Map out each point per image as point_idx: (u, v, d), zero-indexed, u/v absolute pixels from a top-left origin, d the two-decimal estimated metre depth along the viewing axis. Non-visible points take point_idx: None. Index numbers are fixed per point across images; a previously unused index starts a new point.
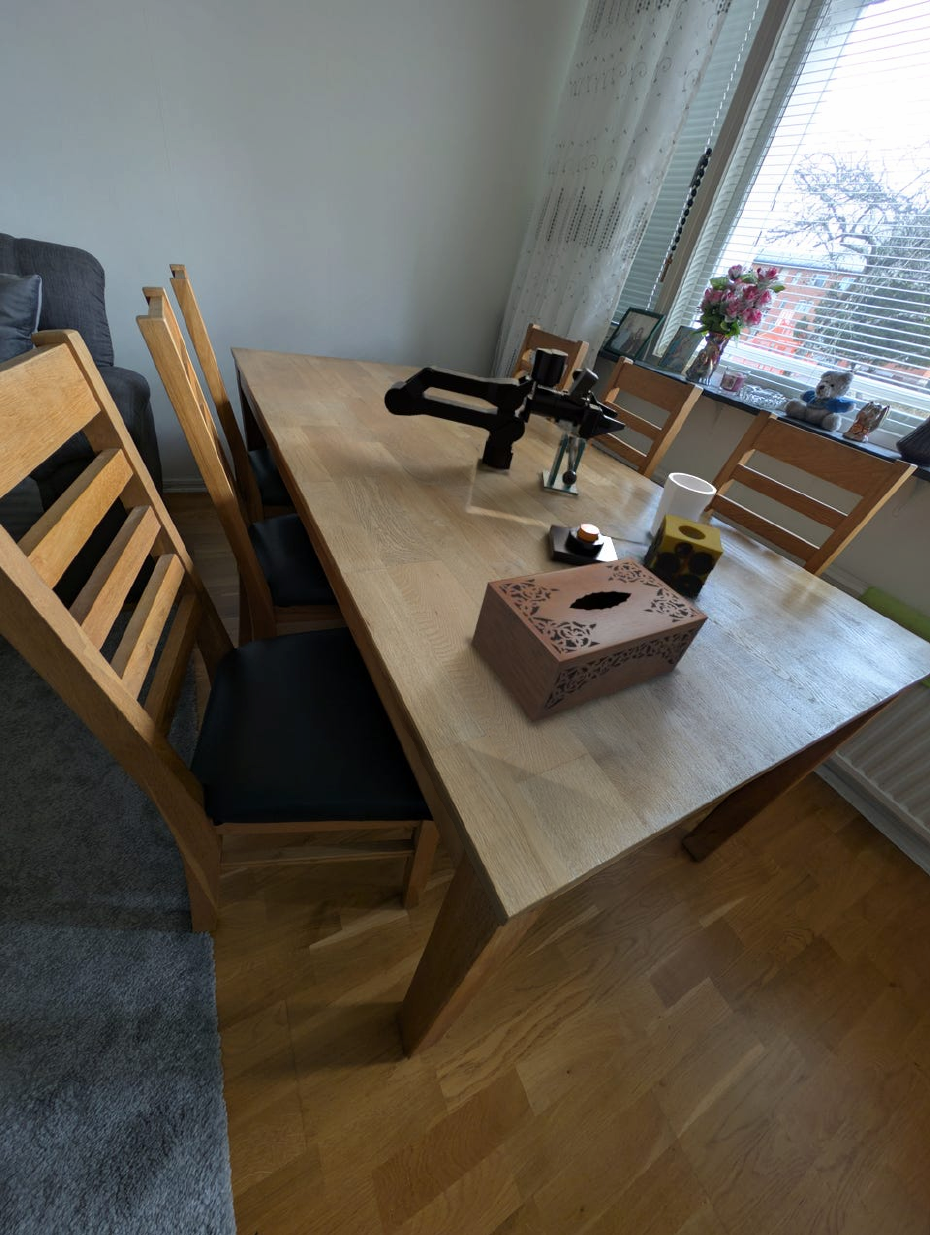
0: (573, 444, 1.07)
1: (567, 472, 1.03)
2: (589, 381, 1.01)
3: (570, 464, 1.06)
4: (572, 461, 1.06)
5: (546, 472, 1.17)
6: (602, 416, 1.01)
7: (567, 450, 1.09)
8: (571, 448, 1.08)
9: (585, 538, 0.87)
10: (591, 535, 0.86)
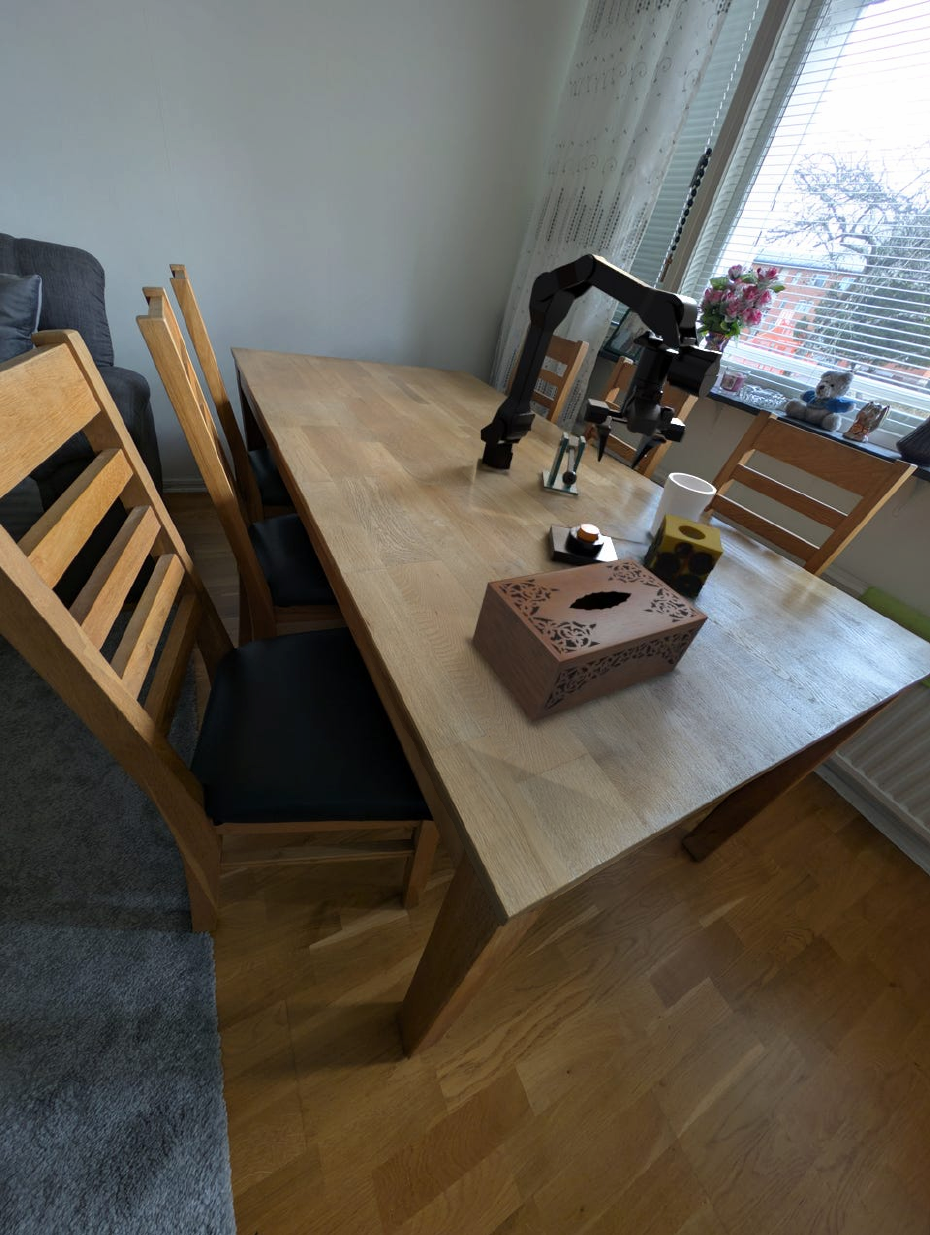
0: (573, 444, 1.07)
1: (567, 472, 1.03)
2: (630, 419, 0.83)
3: (570, 464, 1.06)
4: (572, 461, 1.06)
5: (546, 472, 1.17)
6: (600, 431, 0.89)
7: (567, 450, 1.09)
8: (571, 448, 1.08)
9: (585, 538, 0.87)
10: (591, 535, 0.86)
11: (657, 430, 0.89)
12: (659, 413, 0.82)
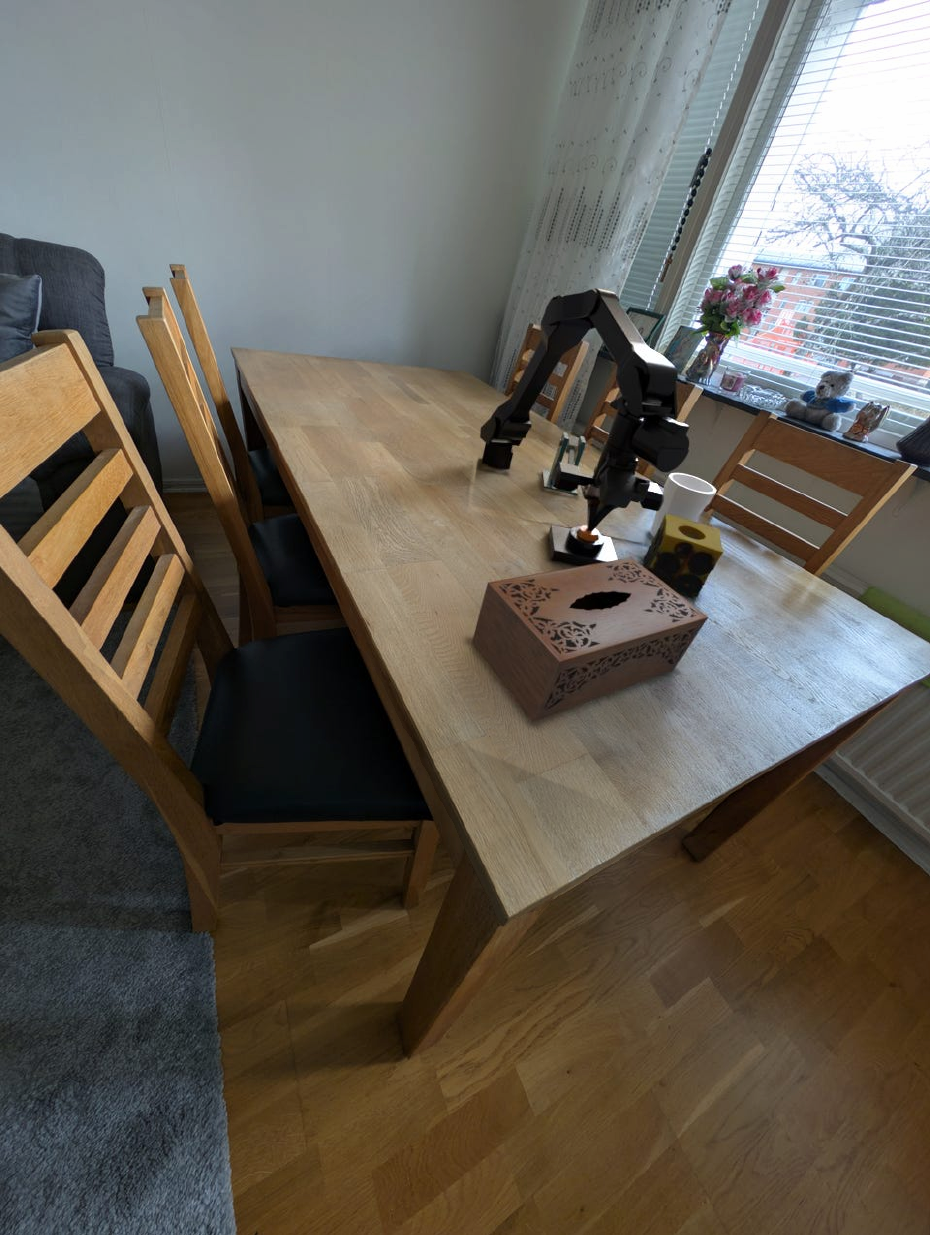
0: (573, 444, 1.07)
1: None
2: (602, 490, 0.76)
3: None
4: (572, 461, 1.06)
5: (546, 472, 1.17)
6: None
7: (567, 450, 1.09)
8: (571, 448, 1.08)
9: (584, 539, 0.87)
10: (590, 537, 0.87)
11: None
12: (633, 484, 0.75)
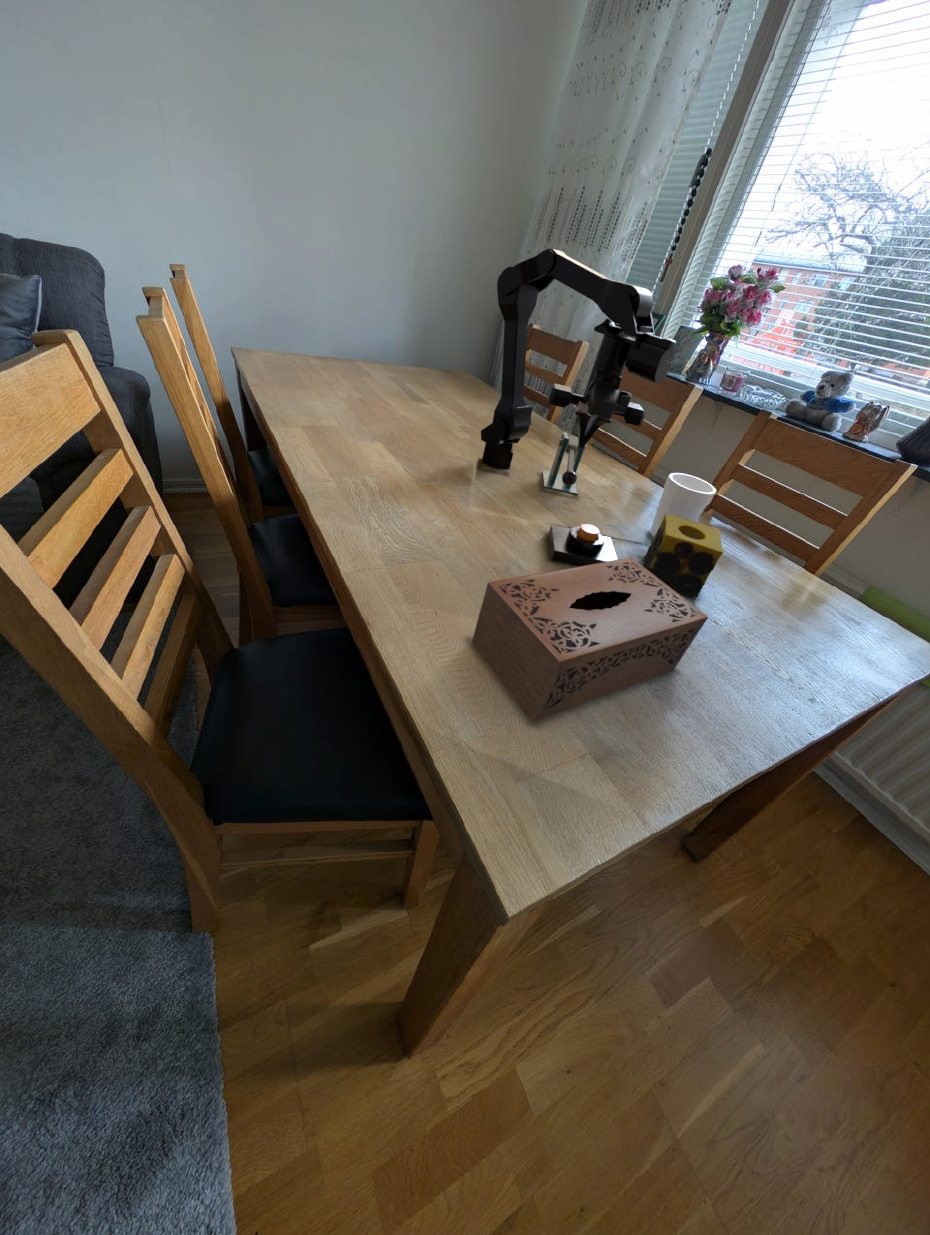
0: (573, 444, 1.07)
1: (567, 472, 1.03)
2: (590, 402, 0.88)
3: (570, 464, 1.06)
4: (572, 461, 1.06)
5: (546, 472, 1.17)
6: (580, 418, 0.95)
7: (567, 450, 1.09)
8: (571, 448, 1.08)
9: (585, 538, 0.87)
10: (591, 535, 0.86)
11: (618, 414, 0.94)
12: (617, 397, 0.87)
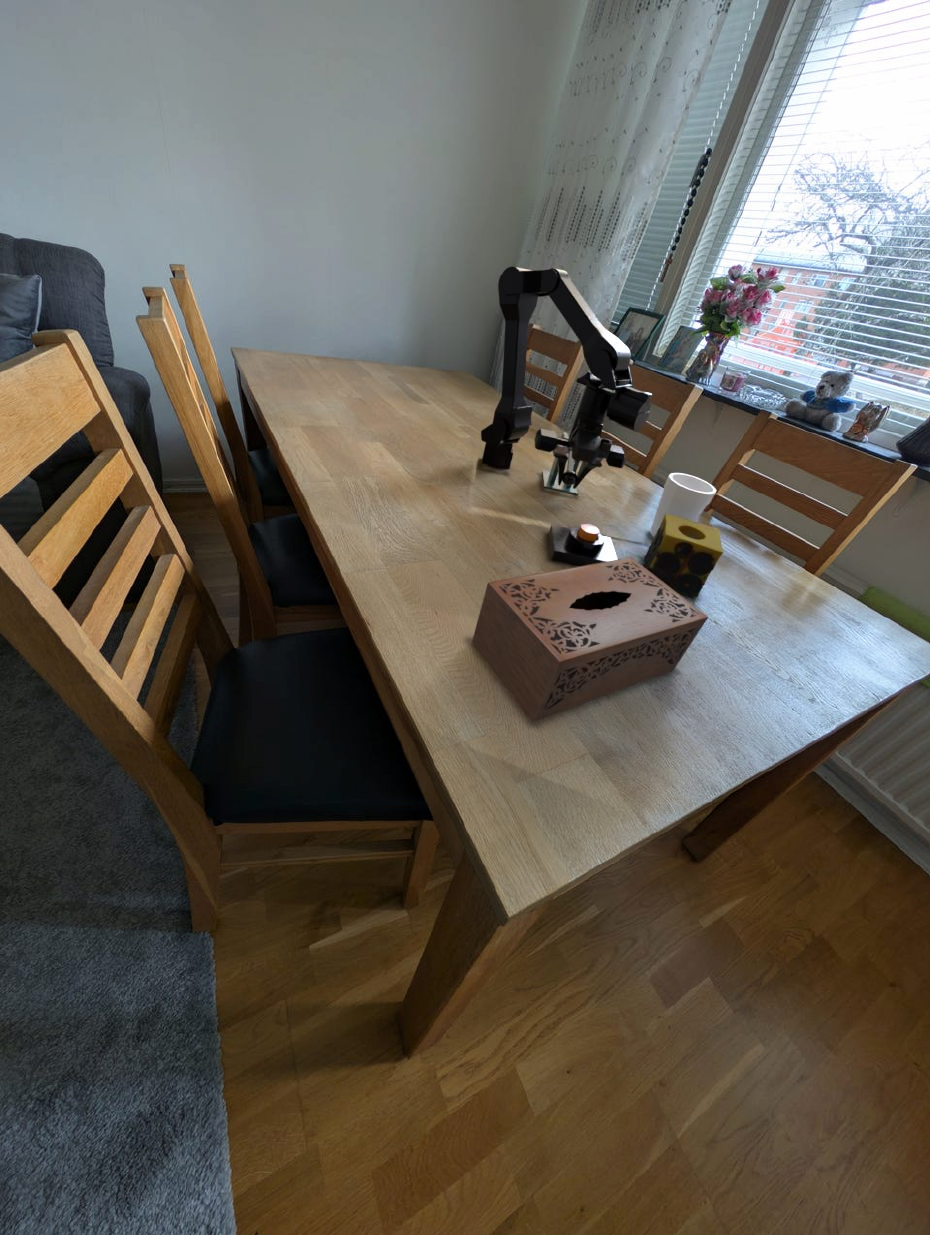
0: None
1: (567, 472, 1.03)
2: (574, 449, 0.94)
3: (570, 464, 1.06)
4: (572, 461, 1.06)
5: (546, 472, 1.17)
6: None
7: None
8: None
9: (585, 538, 0.87)
10: (591, 535, 0.86)
11: None
12: (599, 444, 0.93)
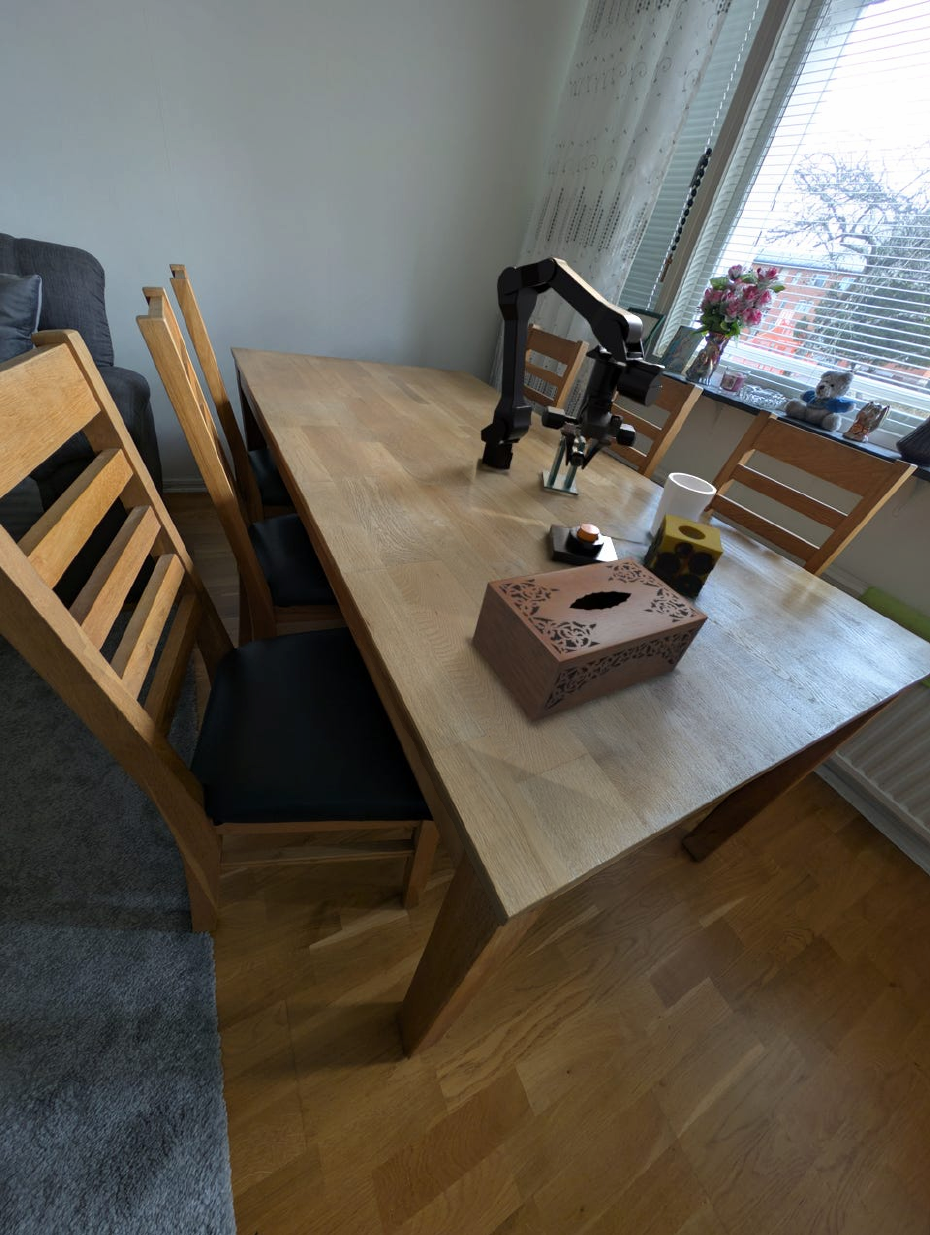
0: (574, 441, 1.07)
1: (574, 451, 1.00)
2: (583, 426, 0.90)
3: (575, 451, 1.03)
4: (576, 450, 1.04)
5: (546, 472, 1.17)
6: None
7: None
8: None
9: (585, 538, 0.87)
10: (591, 535, 0.86)
11: (611, 435, 0.96)
12: (609, 420, 0.90)
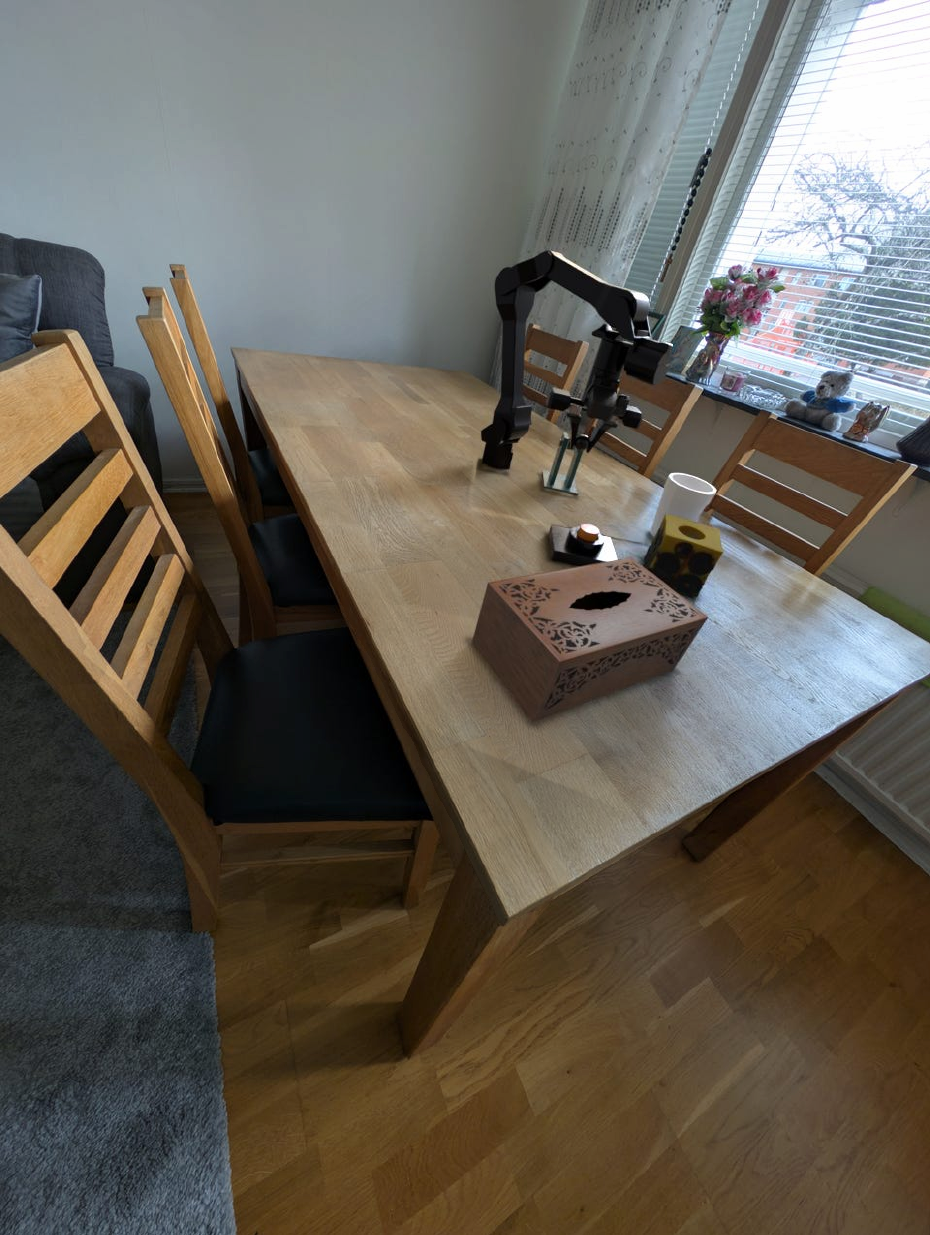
0: None
1: (579, 435, 0.99)
2: (588, 406, 0.89)
3: None
4: None
5: (546, 472, 1.17)
6: None
7: (569, 446, 1.08)
8: None
9: (585, 538, 0.87)
10: (591, 535, 0.86)
11: (616, 417, 0.95)
12: (615, 400, 0.88)
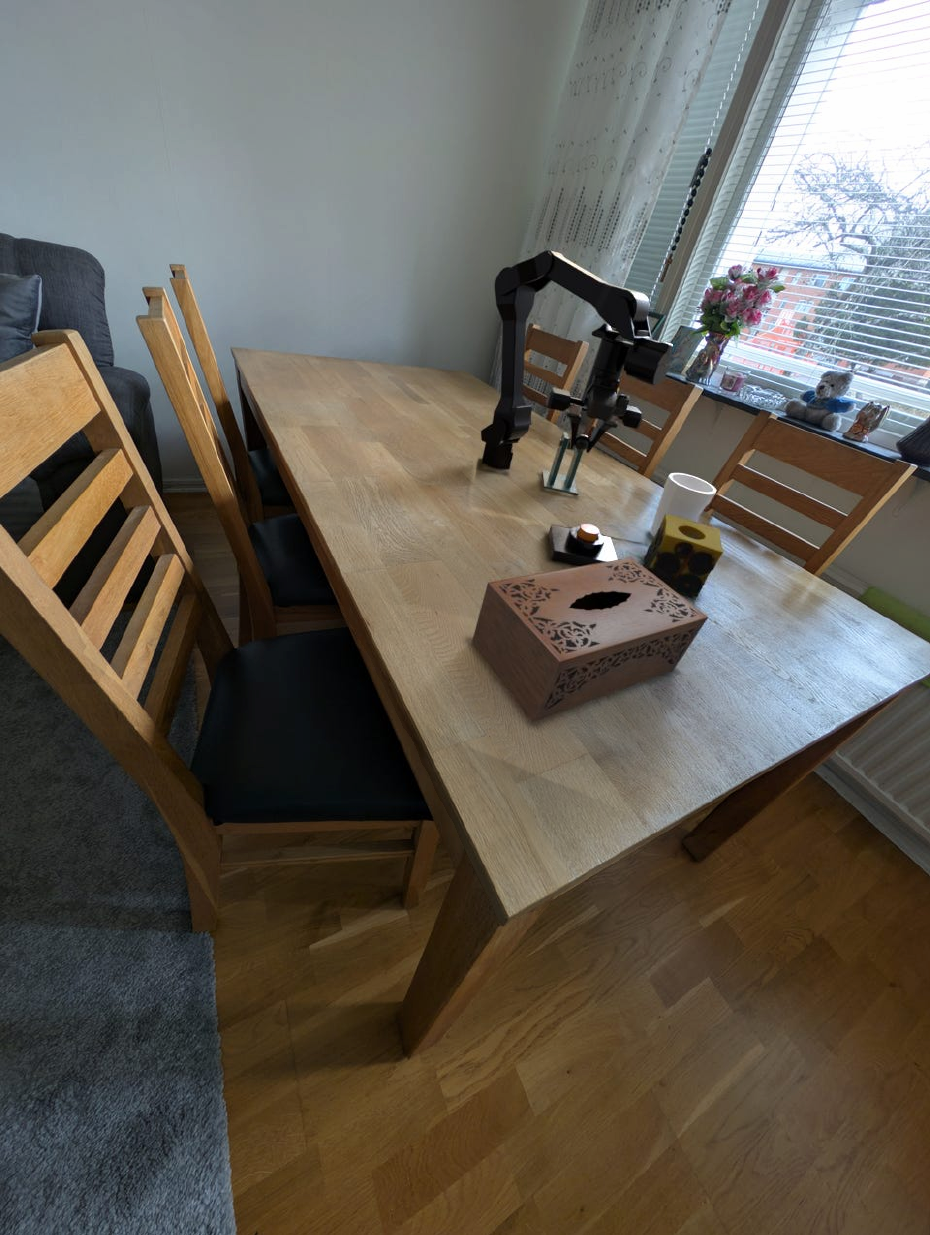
0: None
1: (579, 435, 0.99)
2: (588, 406, 0.89)
3: None
4: None
5: (546, 472, 1.17)
6: None
7: (569, 446, 1.08)
8: None
9: (585, 538, 0.87)
10: (591, 535, 0.86)
11: (616, 417, 0.95)
12: (615, 400, 0.88)
